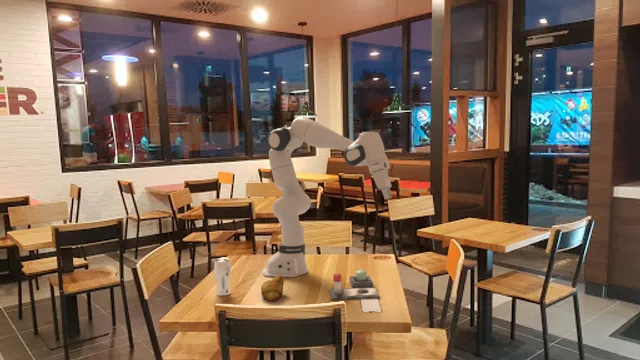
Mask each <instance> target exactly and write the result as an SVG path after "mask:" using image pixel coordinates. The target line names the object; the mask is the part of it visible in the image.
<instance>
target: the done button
mask: <svg viewBox="0 0 640 360" xmlns="http://www.w3.org/2000/svg"><path fill="white" fill-rule="evenodd" d="M367 272H368V271H366V270H364V269H357V270H356V271H355V275H354V276H355V280H356V281H357V282H358V281H367V276H368V275H367Z"/></svg>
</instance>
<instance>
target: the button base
mask: <svg viewBox="0 0 640 360" xmlns="http://www.w3.org/2000/svg"><path fill="white" fill-rule="evenodd" d="M349 284H350V286H351V287H350V288H366V287H374V282H373V280H372V278H371V276H370V275H367V281H358V282H357V281H356V280H355V275H353V276H352V275H351V276H349Z"/></svg>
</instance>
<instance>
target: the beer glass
mask: <svg viewBox="0 0 640 360" xmlns="http://www.w3.org/2000/svg"><path fill="white" fill-rule="evenodd" d="M231 265H232V264H231V259H230V258H228V257H220V258H216V259H214V265H213V266H214V268H213V269H214V270H213V272H214V277H215V283H216V292H215V294H216V296H218V297H226V296H229V295H230V294H231V287H230V281H231V274H232V273H231V270H232V269H231V268H232V267H231Z"/></svg>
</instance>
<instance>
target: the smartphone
mask: <svg viewBox="0 0 640 360" xmlns="http://www.w3.org/2000/svg"><path fill="white" fill-rule="evenodd" d="M359 301H360V307H361V308H362V309H361V312H362V313H363V312H369V314H373V313H372V312H375V311H376V310H377V311H378V312H381V313H383V310H382V306H381V303H380V298H376V299H359ZM362 310H363V311H362ZM379 310H380V311H379ZM377 311H376V312H377Z"/></svg>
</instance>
